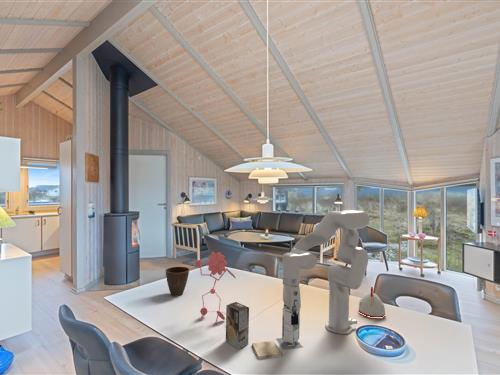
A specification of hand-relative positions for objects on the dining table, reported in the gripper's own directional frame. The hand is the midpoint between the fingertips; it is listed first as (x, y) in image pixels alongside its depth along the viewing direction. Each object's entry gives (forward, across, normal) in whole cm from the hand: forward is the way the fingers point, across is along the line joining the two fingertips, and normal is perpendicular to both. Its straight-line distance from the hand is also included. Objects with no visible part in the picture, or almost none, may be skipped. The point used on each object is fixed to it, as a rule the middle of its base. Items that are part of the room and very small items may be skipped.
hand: (290, 319), depth 125 cm
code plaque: (+10, 0, +1) cm, 10 cm away
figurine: (+10, +32, +30) cm, 45 cm away
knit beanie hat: (+12, +20, -58) cm, 63 cm away
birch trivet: (+10, -4, +13) cm, 17 cm away
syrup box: (+9, 0, 0) cm, 9 cm away
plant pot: (+9, +71, +50) cm, 87 cm away
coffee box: (+10, +5, +24) cm, 26 cm away
